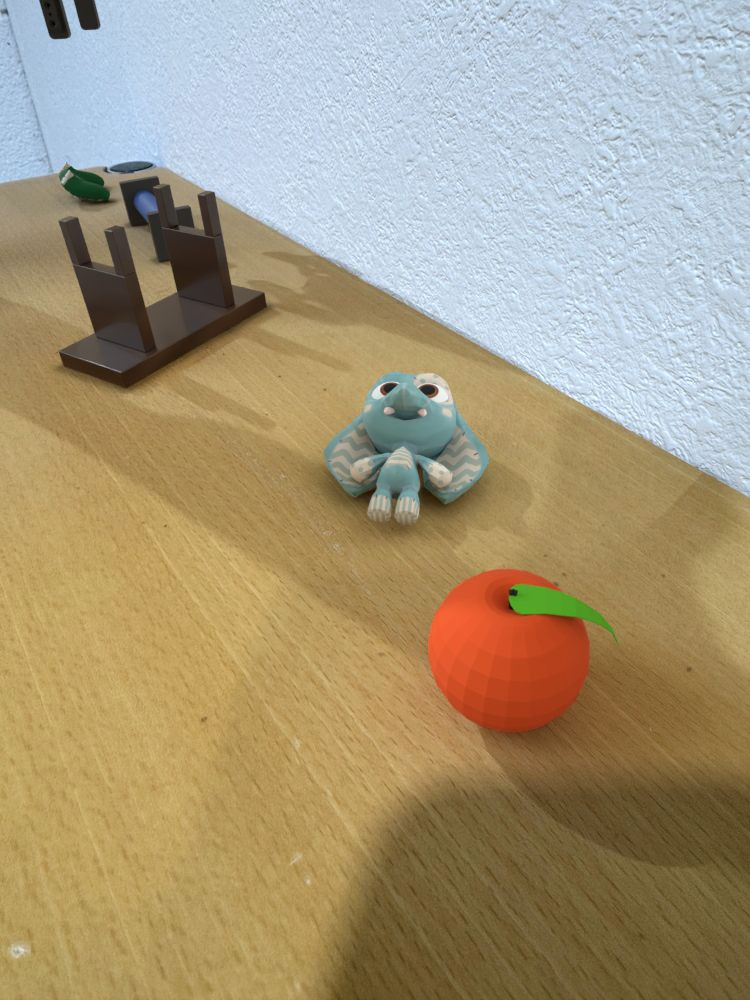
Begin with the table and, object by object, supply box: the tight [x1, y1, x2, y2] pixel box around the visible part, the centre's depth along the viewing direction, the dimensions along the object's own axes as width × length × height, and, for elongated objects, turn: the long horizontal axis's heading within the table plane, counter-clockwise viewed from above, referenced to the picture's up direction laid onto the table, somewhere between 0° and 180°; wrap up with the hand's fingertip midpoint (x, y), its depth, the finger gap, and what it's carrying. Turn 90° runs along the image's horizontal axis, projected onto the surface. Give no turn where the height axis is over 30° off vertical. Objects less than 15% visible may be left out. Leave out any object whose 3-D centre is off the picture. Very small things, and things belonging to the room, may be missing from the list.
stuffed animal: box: [323, 371, 490, 526], centre depth 44 cm, size 11×7×12 cm
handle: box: [118, 175, 196, 263], centre depth 84 cm, size 16×5×5 cm, turn 27°
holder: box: [58, 183, 268, 389], centre depth 61 cm, size 18×8×12 cm, turn 147°
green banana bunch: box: [58, 161, 111, 202], centre depth 100 cm, size 9×4×6 cm
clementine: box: [427, 568, 620, 733], centre depth 30 cm, size 8×7×7 cm
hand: (77, 34), depth 79 cm, fingers open, 8 cm apart
